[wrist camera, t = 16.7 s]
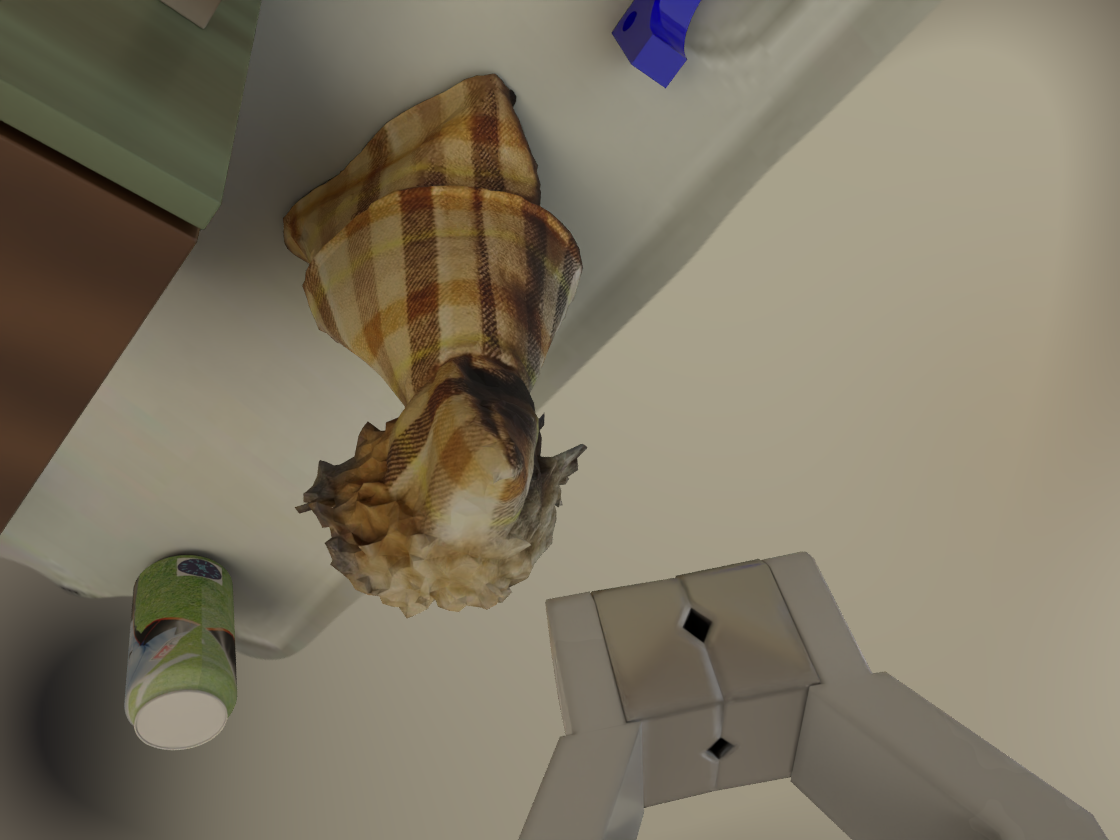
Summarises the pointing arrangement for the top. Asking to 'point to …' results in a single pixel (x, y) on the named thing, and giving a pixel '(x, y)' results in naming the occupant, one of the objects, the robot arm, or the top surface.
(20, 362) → the cupboard
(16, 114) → the door
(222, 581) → the beverage can
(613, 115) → the top surface
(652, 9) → the cable holder
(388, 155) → the plaid cloth bag
